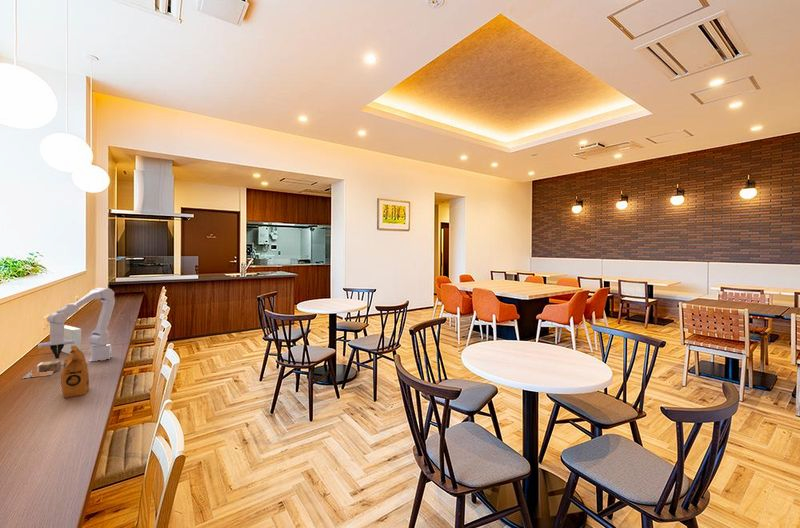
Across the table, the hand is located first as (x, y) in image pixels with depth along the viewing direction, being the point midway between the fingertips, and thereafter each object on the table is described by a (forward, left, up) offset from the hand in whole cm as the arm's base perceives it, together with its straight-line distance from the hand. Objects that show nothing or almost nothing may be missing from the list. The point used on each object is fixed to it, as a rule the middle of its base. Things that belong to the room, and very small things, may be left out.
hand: (57, 358), depth 190 cm
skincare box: (+5, -41, -7) cm, 42 cm away
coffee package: (-16, +43, -7) cm, 47 cm away
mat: (+6, 0, -7) cm, 9 cm away
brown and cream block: (-1, 0, -4) cm, 4 cm away
